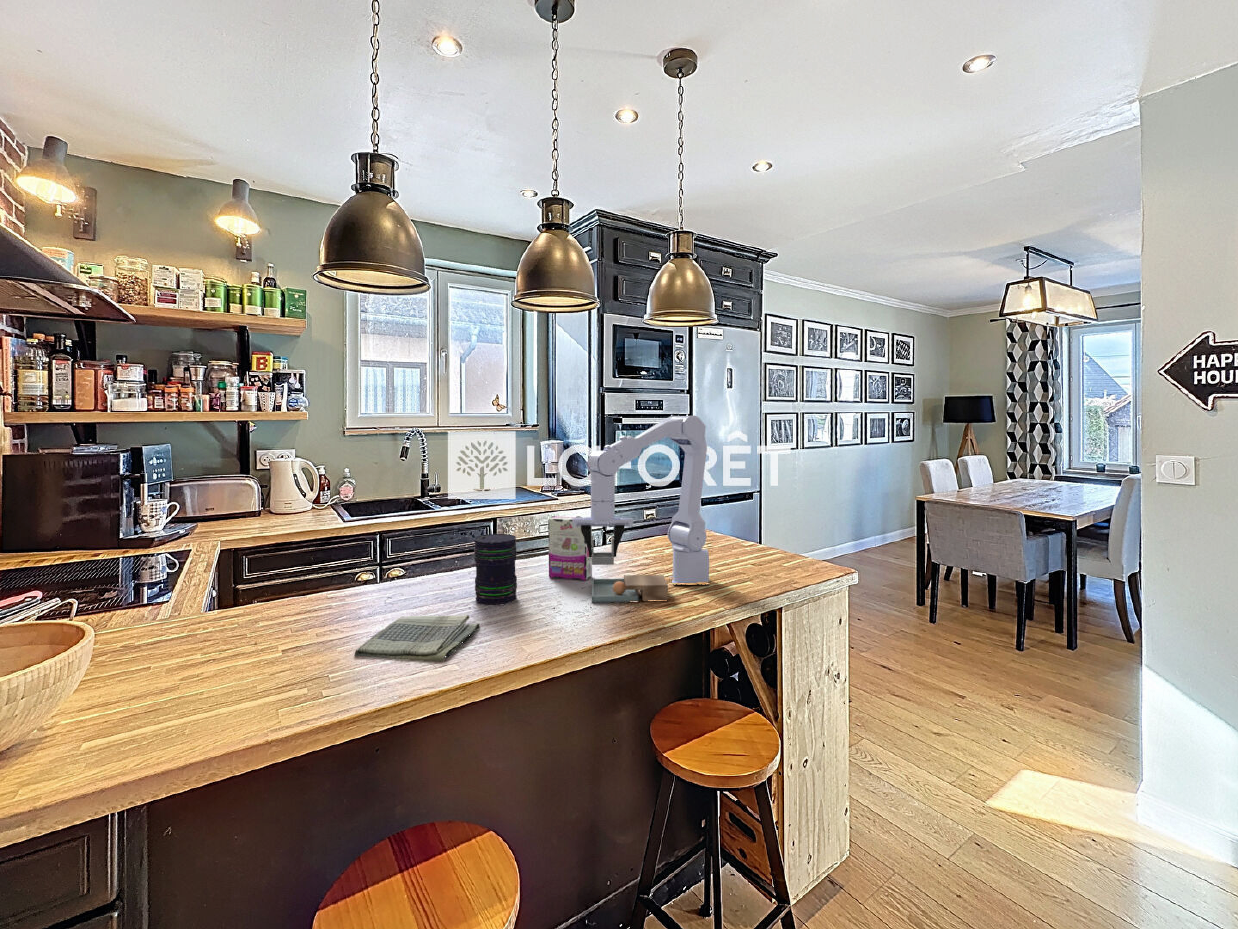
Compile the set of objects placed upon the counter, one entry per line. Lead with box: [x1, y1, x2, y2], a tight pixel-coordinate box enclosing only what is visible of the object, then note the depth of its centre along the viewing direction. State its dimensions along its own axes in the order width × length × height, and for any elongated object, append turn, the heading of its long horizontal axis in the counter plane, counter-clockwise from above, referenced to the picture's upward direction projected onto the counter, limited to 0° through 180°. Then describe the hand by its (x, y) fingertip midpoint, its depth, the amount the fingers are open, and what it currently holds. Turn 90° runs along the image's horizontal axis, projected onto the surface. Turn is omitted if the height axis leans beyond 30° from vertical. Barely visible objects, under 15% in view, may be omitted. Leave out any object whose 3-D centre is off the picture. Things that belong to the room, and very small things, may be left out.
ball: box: [613, 581, 626, 595], centre depth 142 cm, size 3×3×3 cm
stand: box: [623, 574, 669, 601], centre depth 142 cm, size 10×9×4 cm
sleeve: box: [592, 535, 615, 566], centre depth 141 cm, size 5×5×6 cm
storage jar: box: [473, 533, 518, 606], centre depth 139 cm, size 10×10×15 cm
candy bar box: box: [547, 516, 593, 581], centre depth 159 cm, size 11×5×16 cm, turn 73°
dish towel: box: [354, 614, 481, 662], centre depth 114 cm, size 19×18×3 cm
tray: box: [591, 578, 639, 604], centre depth 145 cm, size 11×15×2 cm
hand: (602, 556), depth 141 cm, fingers closed on sleeve, 5 cm apart
